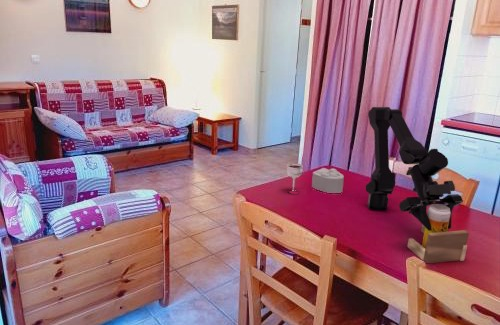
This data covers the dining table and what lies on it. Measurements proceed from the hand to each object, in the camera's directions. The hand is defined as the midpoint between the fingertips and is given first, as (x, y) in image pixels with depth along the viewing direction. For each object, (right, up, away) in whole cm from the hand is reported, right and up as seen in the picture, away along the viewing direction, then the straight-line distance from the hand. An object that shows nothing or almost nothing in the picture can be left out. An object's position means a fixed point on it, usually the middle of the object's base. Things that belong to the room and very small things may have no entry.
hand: (440, 229), depth 115 cm
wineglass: (-39, +7, +48) cm, 62 cm away
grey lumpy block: (-23, +8, +53) cm, 58 cm away
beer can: (-1, -8, +4) cm, 9 cm away
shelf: (-1, -6, +7) cm, 10 cm away
